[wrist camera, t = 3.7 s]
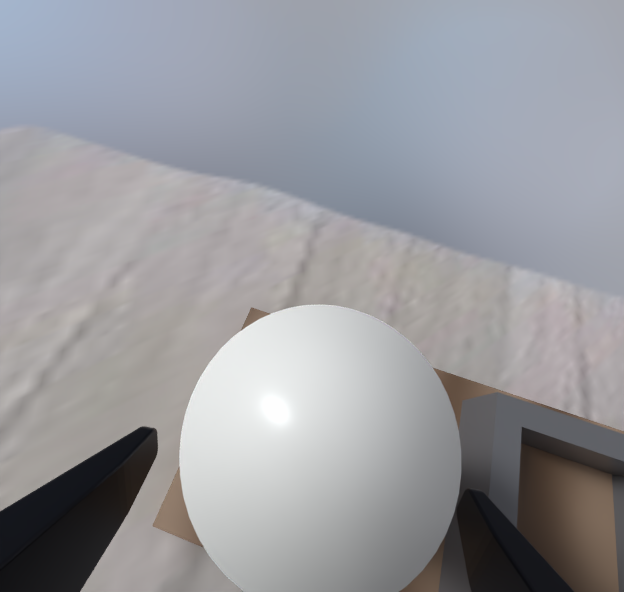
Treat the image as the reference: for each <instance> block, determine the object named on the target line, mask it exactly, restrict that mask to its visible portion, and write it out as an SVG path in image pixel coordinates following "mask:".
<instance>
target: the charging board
mask: <svg viewBox="0 0 624 592" xmlns="http://www.w3.org/2000/svg"><path fill="white" fill-rule="evenodd" d="M267 315H270V314H269V313H266V312H263V311H260V310H257V309H254V308H251V309H250V312H249V314H248V316H247V318H246V320H245V323H244V325H243V327H242V329H241V330H243V329H244V328H245V327H247V326H249V325H250V324H252V323H254V322H255V321H257V320H259V319H260V318H263V317H265V316H267ZM433 369H434V371H435V372H436V374H437V375H438V377H439V378H440V380H441V382H442V384H443V386H444V388H445V390H446V392H447V394H448V397H449V400H450V402H451V405H452V408H453V411H454V414H455V418H456V422H457V426H458V430H459V424H460V416H461V408H462V400H467V399H471V398H475V397H479V396H483V395H487V394H491V393H495V392H499V393H502V394H505V395H508V396H511V397H514V398H517V399H520V400H523V401H526V402H529V403H532V404H535V405H538V406H541V407H544V408H547V409H550V410H553V411H556V412H559V413H562V414H565V415H568V416H571V417H574V418H577V419H580V420H583V421H586V422H589V423H592V424H595V425H598V426H601V427H604V428H607V429H610V430H613V431H616V432H619V433H622V434H624V431H621V430H618V429H615V428H612V427H609V426H606V425H603V424H600V423H597V422H594V421H591V420H588V419H585V418H582V417H579V416H576V415H573V414H570V413H567V412H564V411H561V410H558V409H555V408H552V407H549V406H546V405H543V404H540V403H537V402H534V401H531V400H528V399H525V398H522V397H519V396H516V395H513V394H510V393H507V392H504V391H501V390H498V389H495V388H492V387H489V386H486V385H483V384H480V383H477V382H474V381H471V380H468V379H465V378H462V377H459V376H456V375H453V374H450V373H447V372H444V371H441V370H438V369H435V368H433ZM153 527H156V528H158V529H161V530H163V531H165V532H168V533H170V534H173V535H175V536H177V537H180V538H182V539H185V540H187V541H189V542H192V543H194V544H197V545H199V546H201V547H203V545H202V543H201V542H200V540H199V538H198V536H197V534H196V532H195V529H194V527H193V525H192V523H191V520H190V518H189V514H188V511H187V508H186V504H185V501H184V497H183V491H182V485H181V479H180V466H179V468H178V470H177V473H176V475H175V477H174V479H173V482H172V484H171V486H170V488H169V490H168V493H167V495H166V497H165V499H164V501H163V504H162V506H161V508H160V510H159V512H158V515H157V517H156V519H155V521H154V523H153ZM517 529H518V530H519V531H520V532H521V534H522V535H523V536H524V537H525V538H526V539H527V540H528V541H529V542H530V543H531V544H532V546H533V547H534V548H535V549H536V550H537V551H538V552H539V553H540V554H541V555H542V557H543V558H544V559H545V560H546V561H547V562H548V563H549V564H550V565H551V566H552V568H553V569H554V570H555V571H556V572H557V573H558V574H559V575H560V576H561V577H562V578H563V580H564V581H565V582H566V583H567V584H568V585H569V586H570V587H571V588H572V589H573V591H574V592H619V585H618V568H617V552H616V535H615V518H614V502H613V485H612V474H609V473H606V472H603V471H600V470H598V469H595V468H592V467H589V466H586V465H583V464H580V463H577V462H574V461H572V460H569V459H566V458H563V457H560V456H557V455H554V454H551V453H549V452H546V451H543V450H540V449H537V448H534V447H531V446H528V445H525V444H523V443H521V453H520V473H519V494H518V515H517ZM444 543H445V537H444V539H443V541H442V542H441V544H440V546H439V548H438V550H437V552H436V553H435V555H434V556H433V557H432V559H431V560H430V561H429V563H428V564H427V565H426V567H425V568H424V569H423V571H422V572H421V573H420V574H419V575H418V576H416V577H415V578H414V579H413V580H412V581H411V582H410V583H409V584H408V585H407V586H406V587H405V588H403V589H402V590H401V591H399V592H438V590H439V582H440V575H441V567H442V559H443V551H444Z"/></svg>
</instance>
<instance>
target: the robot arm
mask: <svg viewBox="0 0 624 592" xmlns="http://www.w3.org/2000/svg"><path fill="white" fill-rule="evenodd" d="M157 451H158V441H157V430H156V429H155V428H150V427H140V428H138V429H137V430H135V431H133V432H132V433H130V434H128V435H127V436H125V437H123V438H122V439H120V440H118V441H117V442H115V443H113V444H112V445H110V446H108V447H107V448H105V449H103V450H102V451H100V452H98V453H97V454H95V455H93V456H92V457H90V458H88V459H87V460H85V461H83V462H82V463H80V464H78V465H77V466H75V467H73V468H72V469H70V470H68V471H67V472H65V473H63V474H62V475H60V476H58V477H57V478H55V479H53V480H52V481H50V482H48V483H47V484H45V485H43V486H42V487H40V488H38V489H37V490H35V491H33V492H32V493H30V494H28V495H27V496H25V497H23V498H22V499H20V500H18V501H17V502H15V503H13V504H12V505H10V506H8V507H7V508H5V509H3V510H2V511H0V592H80V591H81V589H82V588H83V586H84V584H85V583H86V581H87V579H88V578H89V576H90V575H91V573H92V571H93V570H94V568H95V566H96V565H97V563H98V562H99V560H100V558H101V557H102V555H103V553H104V552H105V550H106V549H107V547H108V545H109V544H110V542H111V540H112V539H113V537H114V536H115V534H116V532H117V531H118V529H119V527H120V526H121V524H122V523H123V521H124V519H125V517H126V516H127V514H128V512H129V510H130V508H131V506H132V504H133V502H134V500H135V498H136V496H137V494H138V492H139V490H140V488H141V486H142V484H143V482H144V480H145V478H146V476H147V474H148V472H149V470H150V468H151V466H152V464H153V462H154V460H155V458H156V455H157ZM456 515H457V521H458V527H459V532H460V538H461V544H462V549H463V555H464V560H465V566H466V571H467V576H468V581H469V585H470V589H471V592H574V591H573V589H572V588H571V587H570V586H569V585H568V584H567V583H566V582H565V581H564V580H563V578H562V577H561V576H560V575H559V574H558V573H557V572H556V571H555V570H554V569H553V568H552V566H551V565H550V564H549V563H548V562H547V561H546V560H545V559H544V558H543V557H542V555H541V554H540V553H539V552H538V551H537V550H536V549H535V548H534V547H533V546H532V544H531V543H530V542H529V541H528V540H527V539H526V538H525V537H524V536H523V535H522V534H521V532H520V531H519V530H518V529H517V528H516V527H515V526H514V525H513V524H512V523H511V521H510V520H509V519H508V518H507V517H506V516H505V515H504V514H503V513H502V512H501V511H500V509H499V508H498V507H497V506H496V505H495V504H494V503H493V502H492V501H491V500H490V498H489V497H488V496H487V495H486V494H485V493H484V492H483V491H481V490H478V489H472V488H467V489H465V491H464V493H463V495H462V497H461V499H460V501H459V504H458V506H457V510H456Z"/></svg>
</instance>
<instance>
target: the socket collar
mask: <svg viewBox="0 0 624 592" xmlns="http://www.w3.org/2000/svg"><path fill="white" fill-rule="evenodd" d="M459 437H460V445H461V480H460V489H459V495H458V499H457V503H456V507H455V512H454V515H453V518H452V520H451V523H450V525H449V528H448V530H447V533H446V535H445V543H444V551H443V559H442V567H441V575H440V582H439V590H438V592H471V589H470V585H469V581H468V576H467V571H466V566H465V560H464V555H463V549H462V544H461V538H460V532H459V527H458V521H457V515H456V510H457V506H458V504H459V501H460V499H461V497H462V495H463V493H464V491H465V489H467V488H472V489H478V490H481V491H483V492H484V493H485V494H486V495H487V496H488V497H489V498H490V500H491V501H492V502H493V503H494V504H495V505H496V506H497V507H498V508H499V509H500V511H501V512H502V513H503V514H504V515H505V516H506V517H507V518H508V519H509V520H510V521H511V523H512V524H513V525H514V526H515V527H516V528H517V515H518V494H519V473H520V453H521V443H523V444H525V445H528V446H531V447H534V448H537V449H540V450H543V451H546V452H549V453H551V454H554V455H557V456H560V457H563V458H566V459H569V460H572V461H574V462H577V463H580V464H583V465H586V466H589V467H592V468H595V469H598V470H600V471H603V472H606V473H609V474H612V485H613V502H614V518H615V535H616V552H617V568H618V585H619V592H624V434H622V433H619V432H616V431H613V430H610V429H607V428H604V427H601V426H598V425H595V424H592V423H589V422H586V421H583V420H580V419H577V418H574V417H571V416H568V415H565V414H562V413H559V412H556V411H553V410H550V409H547V408H544V407H541V406H538V405H535V404H532V403H529V402H526V401H523V400H520V399H517V398H514V397H511V396H508V395H505V394H502V393H499V392H495V393H491V394H487V395H483V396H479V397H475V398H471V399H467V400H462V408H461V416H460V424H459Z"/></svg>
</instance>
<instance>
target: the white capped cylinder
mask: <svg viewBox="0 0 624 592" xmlns="http://www.w3.org/2000/svg"><path fill="white" fill-rule="evenodd" d="M179 460H180V479H181V485H182V491H183V497H184V501H185V504H186V508H187V511H188V514H189V518H190V520H191V523H192V525H193V527H194V529H195V532H196V534H197V536H198V538H199V540H200V542H201V543H202V545H203V547H204V548H205V550H206V551H207V553H208V555H209V556H210V558H211V559H212V560H213V561H214V563H215V564H216V565H217V566H218V567H219V569H220V570H221V571H222V572H223V573H224V575H225V576H226V577H228V578H229V579H230V580H231V581H232V582H233V583H234V584H236V585H237V586H238V587H239V588H240V589H241V590H242V591H244V592H399V591H401V590H402V589H403V588H405V587H406V586H407V585H408V584H409V583H410V582H411V581H412V580H413V579H414V578H415V577H416V576H418V575H419V574H420V573H421V572H422V571H423V569H424V568H425V567H426V565H427V564H428V563H429V561H430V560H431V559H432V557H433V556H434V555H435V553H436V552H437V550H438V548H439V546H440V544H441V542H442V541H443V539H444V537H445V535H446V533H447V530H448V528H449V525H450V523H451V520H452V518H453V515H454V512H455V507H456V503H457V499H458V495H459V489H460V480H461V445H460V437H459V430H458V426H457V422H456V418H455V414H454V411H453V408H452V405H451V402H450V400H449V397H448V394H447V392H446V390H445V388H444V386H443V384H442V382H441V380H440V378H439V377H438V375H437V374H436V372H435V371H434V369H433V367H432V366H431V364H430V363H429V362H428V361H427V359H426V358H425V357H424V356H423V354H422V353H421V352H420V351H419V350H418V349H417V348H416V347H415V346H414V345H413V344H412V343H411V342H410V341H409V340H408V339H407V338H406V337H405V336H403V335H402V334H401V333H399V332H398V331H397V330H396V329H394V328H393V327H391V326H389V325H388V324H386V323H384V322H383V321H381V320H379V319H377V318H375V317H373V316H371V315H368V314H366V313H363V312H360V311H357V310H354V309H351V308H346V307H341V306H335V305H322V304H318V305H303V306H297V307H291V308H287V309H284V310H281V311H277V312H274V313H272V314H270V315H267V316H265V317H263V318H260V319H259V320H257V321H255V322H254V323H252V324H250V325H249V326H247V327H245V328H244V329H243V330H241V331H240V332H239V333H238V334H236V335H235V336H234V337H232V338H231V339H230V340H229V341H228V342H227V343H226V344H225V345H224V346H223V347H222V348H221V349H220V350H219V352H218V353H217V354H216V355H215V357H214V358H213V359H212V360H211V361H210V363H209V364H208V366H207V367H206V369H205V371H204V372H203V374H202V375H201V377H200V379H199V381H198V383H197V385H196V387H195V389H194V391H193V393H192V396H191V399H190V401H189V404H188V407H187V410H186V413H185V418H184V422H183V427H182V432H181V441H180V452H179Z"/></svg>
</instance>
